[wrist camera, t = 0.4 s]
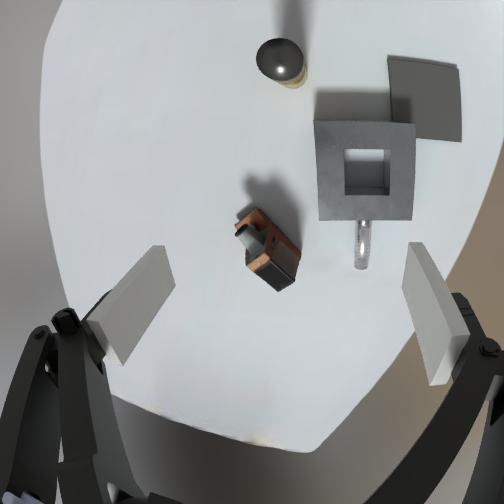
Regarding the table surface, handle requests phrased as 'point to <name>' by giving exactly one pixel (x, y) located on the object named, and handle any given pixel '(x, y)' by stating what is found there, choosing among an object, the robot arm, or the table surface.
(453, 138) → the pad
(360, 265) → the block
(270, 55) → the gold and black cylinder
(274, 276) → the electronic device
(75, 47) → the table surface
